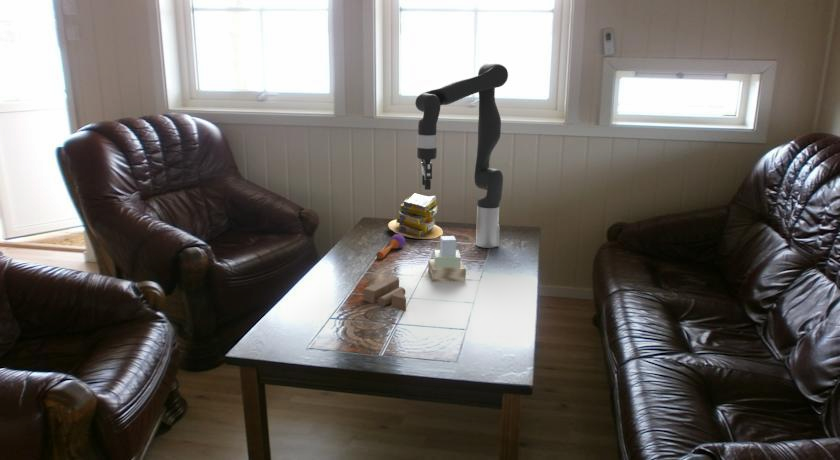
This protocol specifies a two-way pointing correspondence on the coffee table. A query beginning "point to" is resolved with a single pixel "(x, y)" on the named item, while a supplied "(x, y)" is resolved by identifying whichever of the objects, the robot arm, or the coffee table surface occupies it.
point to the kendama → (392, 245)
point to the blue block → (447, 245)
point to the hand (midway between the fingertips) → (426, 187)
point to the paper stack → (417, 218)
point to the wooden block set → (386, 293)
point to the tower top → (447, 260)
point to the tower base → (446, 273)
